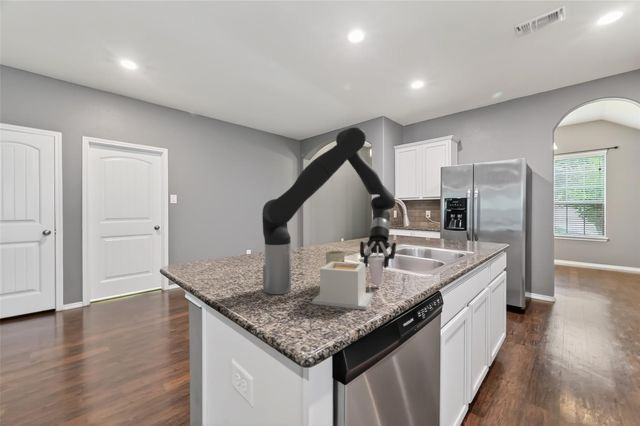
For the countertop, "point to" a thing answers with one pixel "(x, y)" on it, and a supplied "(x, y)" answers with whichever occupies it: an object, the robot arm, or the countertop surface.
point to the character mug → (334, 256)
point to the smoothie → (376, 268)
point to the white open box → (343, 286)
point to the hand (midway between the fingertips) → (375, 266)
